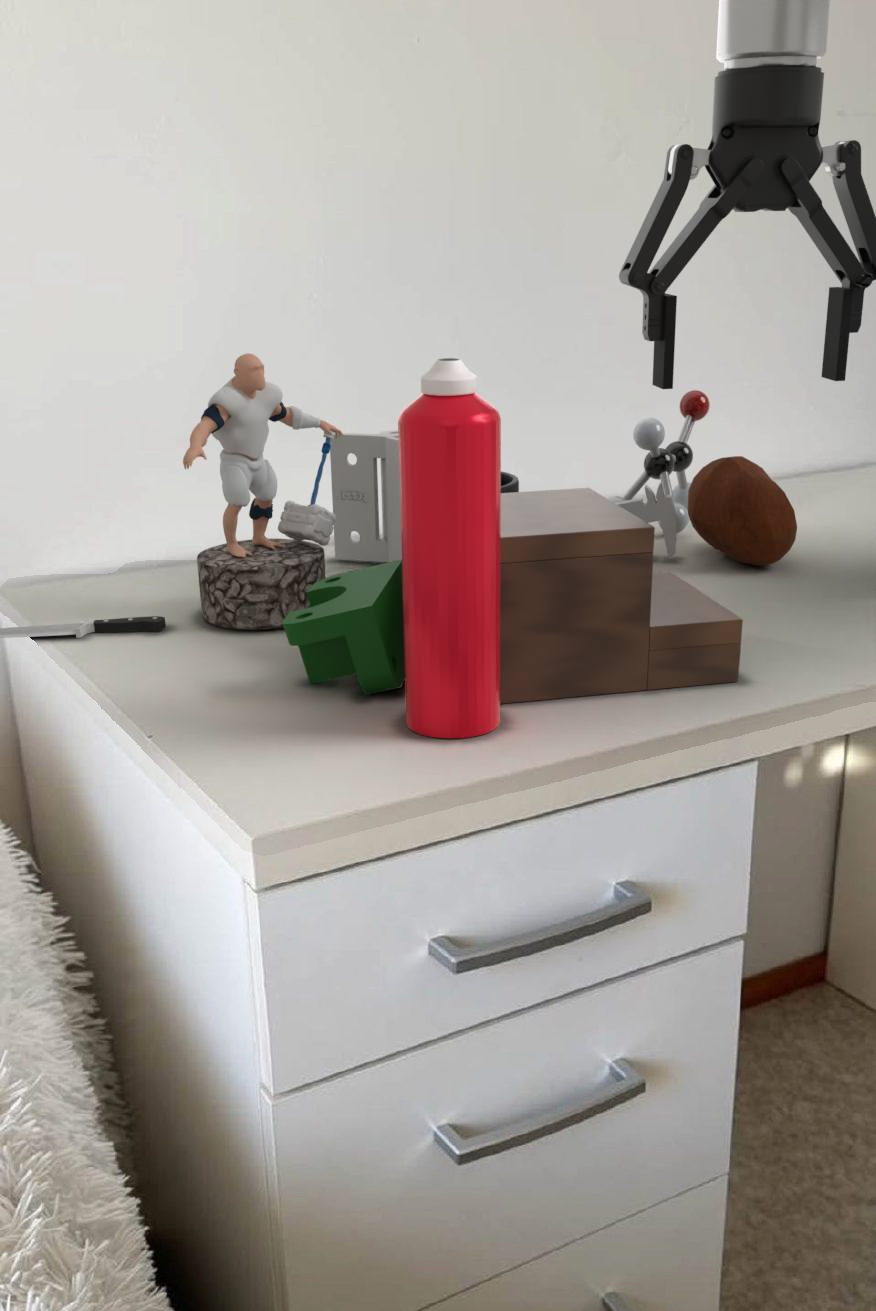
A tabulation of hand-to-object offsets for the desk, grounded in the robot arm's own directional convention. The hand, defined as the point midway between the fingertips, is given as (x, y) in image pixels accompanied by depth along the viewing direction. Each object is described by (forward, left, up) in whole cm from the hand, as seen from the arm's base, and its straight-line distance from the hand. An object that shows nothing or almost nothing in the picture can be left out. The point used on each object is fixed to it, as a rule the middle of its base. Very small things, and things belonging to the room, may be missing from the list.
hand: (748, 383), depth 108 cm
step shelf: (+20, +21, -14) cm, 32 cm away
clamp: (+34, +19, -14) cm, 41 cm away
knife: (+53, +6, -14) cm, 55 cm away
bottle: (+31, +29, -14) cm, 45 cm away
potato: (-1, -2, -14) cm, 14 cm away
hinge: (+26, -6, -14) cm, 30 cm away
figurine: (+38, +4, -14) cm, 41 cm away
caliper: (+13, -7, -14) cm, 21 cm away
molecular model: (0, -16, -14) cm, 21 cm away
